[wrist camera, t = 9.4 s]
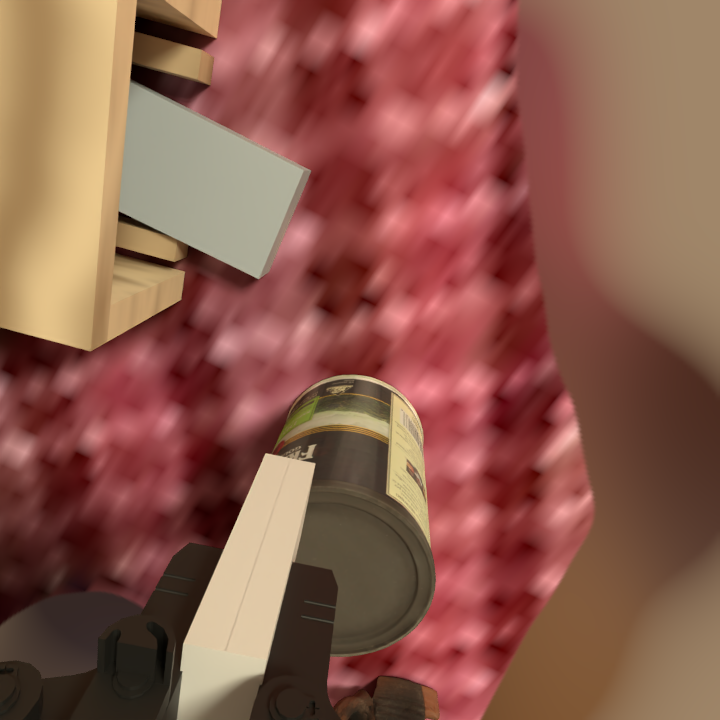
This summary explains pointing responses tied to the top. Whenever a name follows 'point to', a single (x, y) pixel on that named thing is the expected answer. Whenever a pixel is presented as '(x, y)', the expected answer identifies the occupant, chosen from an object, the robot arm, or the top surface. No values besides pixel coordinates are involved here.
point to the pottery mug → (391, 702)
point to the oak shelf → (82, 164)
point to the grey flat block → (206, 183)
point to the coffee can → (364, 507)
